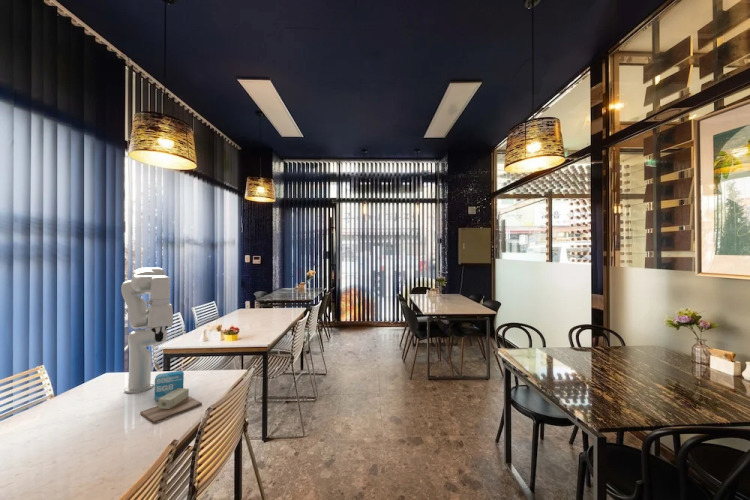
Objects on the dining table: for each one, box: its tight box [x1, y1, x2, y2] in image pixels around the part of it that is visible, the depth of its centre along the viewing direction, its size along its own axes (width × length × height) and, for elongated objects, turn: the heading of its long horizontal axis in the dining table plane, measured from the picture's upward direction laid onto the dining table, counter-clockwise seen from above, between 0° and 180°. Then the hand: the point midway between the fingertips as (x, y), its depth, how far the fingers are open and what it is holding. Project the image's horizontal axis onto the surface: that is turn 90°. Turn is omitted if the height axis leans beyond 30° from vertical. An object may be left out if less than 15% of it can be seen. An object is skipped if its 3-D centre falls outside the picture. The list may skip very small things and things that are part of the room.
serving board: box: [139, 395, 203, 425], centre depth 141 cm, size 14×20×1 cm
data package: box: [153, 370, 185, 402], centre depth 153 cm, size 12×4×12 cm, turn 122°
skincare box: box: [157, 387, 190, 409], centre depth 145 cm, size 6×4×12 cm
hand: (158, 341), depth 144 cm, fingers closed
